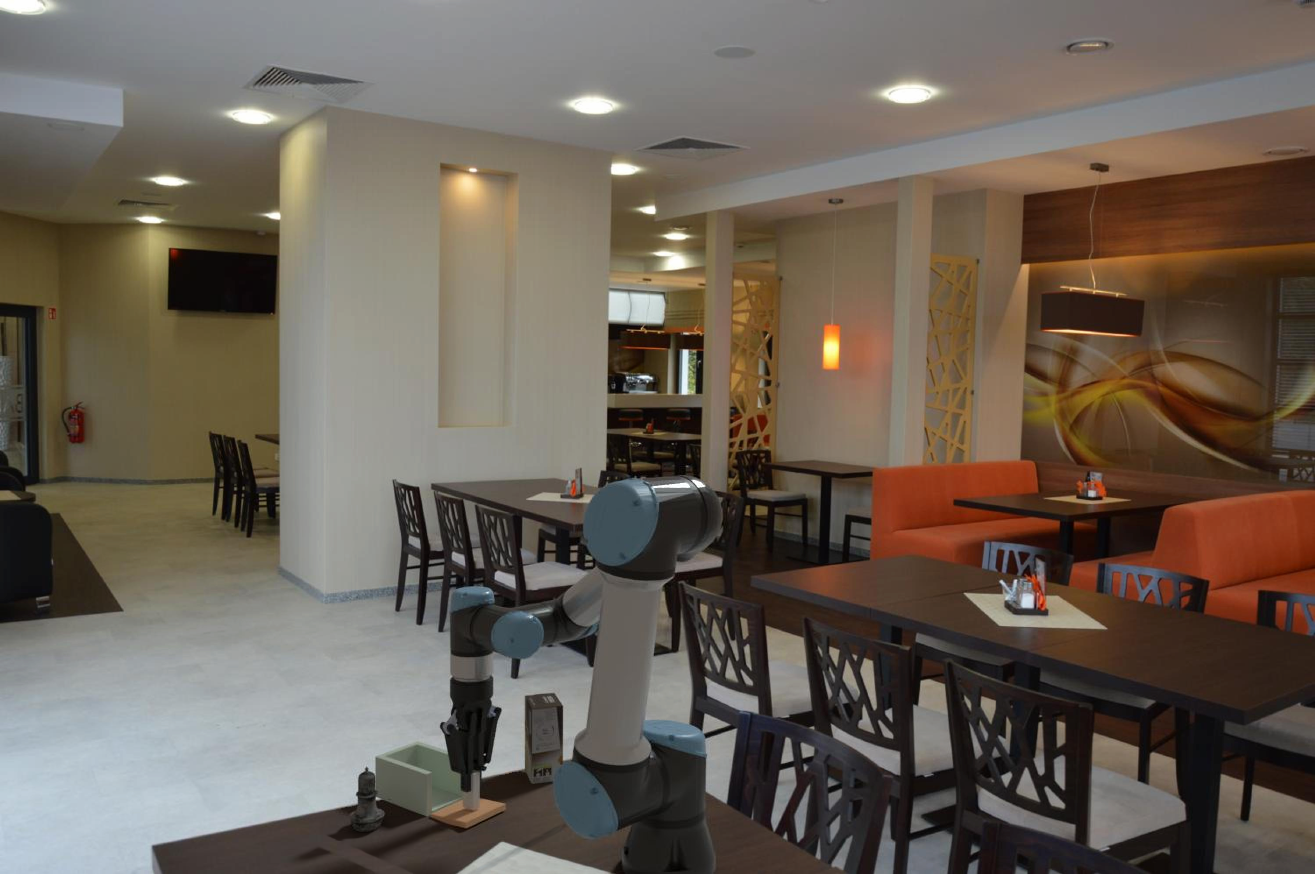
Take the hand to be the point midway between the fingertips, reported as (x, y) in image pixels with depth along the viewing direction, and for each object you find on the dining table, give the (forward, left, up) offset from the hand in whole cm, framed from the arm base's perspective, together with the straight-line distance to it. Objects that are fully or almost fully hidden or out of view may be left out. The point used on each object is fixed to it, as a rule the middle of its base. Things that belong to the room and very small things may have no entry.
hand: (471, 807), depth 176 cm
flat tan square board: (+5, 0, -1) cm, 5 cm away
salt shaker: (+11, +14, -3) cm, 18 cm away
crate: (+13, 0, -3) cm, 13 cm away
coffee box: (+3, -22, -3) cm, 22 cm away
